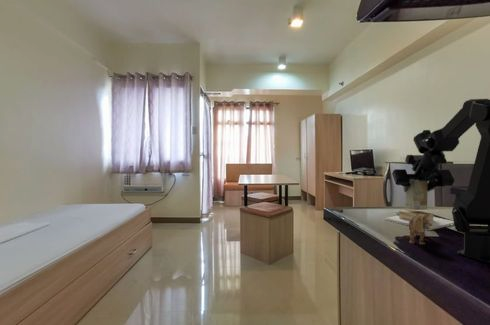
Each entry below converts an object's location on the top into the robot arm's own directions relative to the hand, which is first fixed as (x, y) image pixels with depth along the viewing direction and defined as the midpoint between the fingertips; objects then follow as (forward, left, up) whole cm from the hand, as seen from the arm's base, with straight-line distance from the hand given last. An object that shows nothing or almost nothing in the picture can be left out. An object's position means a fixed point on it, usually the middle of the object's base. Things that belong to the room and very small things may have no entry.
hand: (414, 191), depth 101 cm
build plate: (0, -2, -12) cm, 12 cm away
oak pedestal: (-1, -1, -12) cm, 12 cm away
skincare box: (-1, -1, -7) cm, 7 cm away
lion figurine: (-22, -15, -12) cm, 29 cm away
